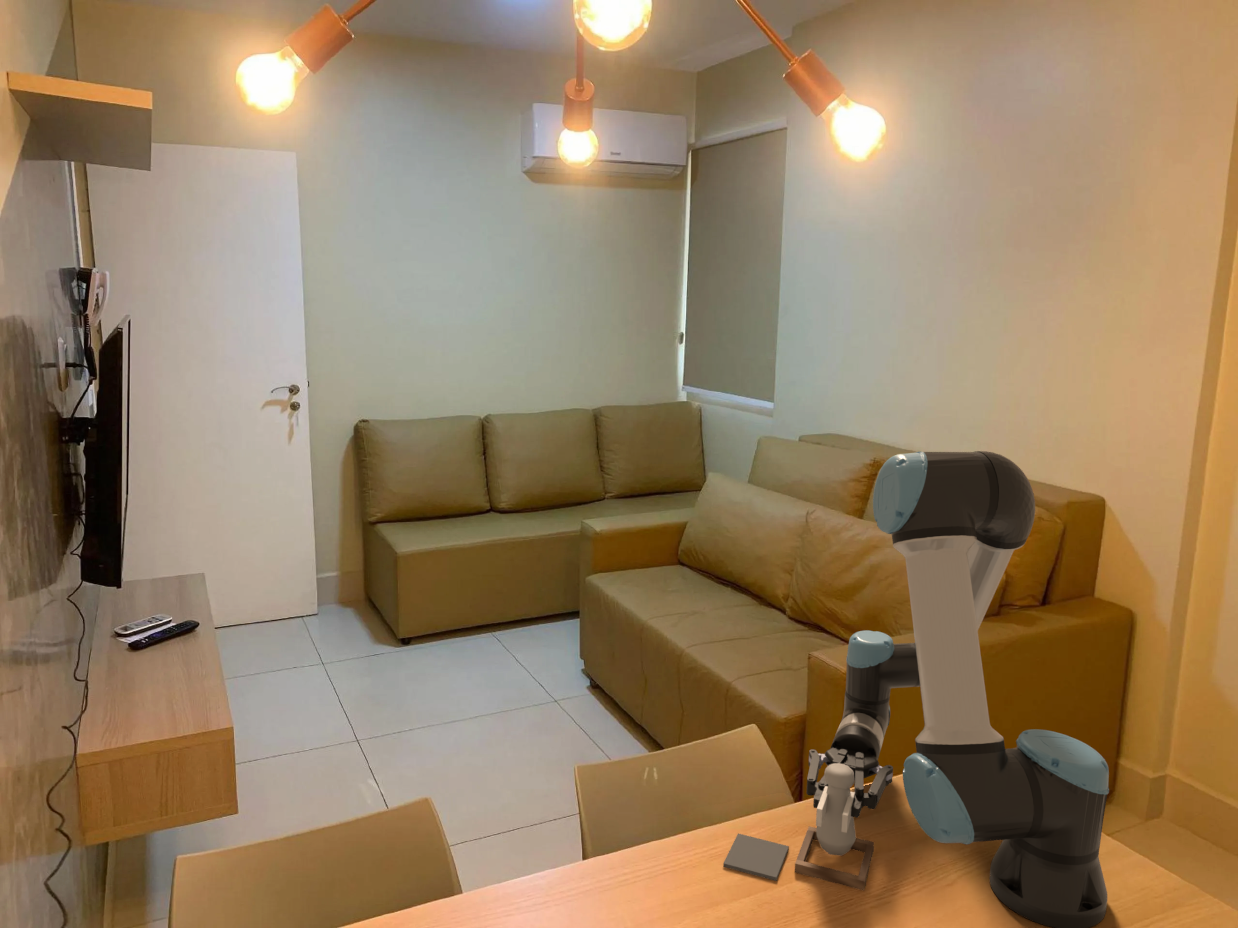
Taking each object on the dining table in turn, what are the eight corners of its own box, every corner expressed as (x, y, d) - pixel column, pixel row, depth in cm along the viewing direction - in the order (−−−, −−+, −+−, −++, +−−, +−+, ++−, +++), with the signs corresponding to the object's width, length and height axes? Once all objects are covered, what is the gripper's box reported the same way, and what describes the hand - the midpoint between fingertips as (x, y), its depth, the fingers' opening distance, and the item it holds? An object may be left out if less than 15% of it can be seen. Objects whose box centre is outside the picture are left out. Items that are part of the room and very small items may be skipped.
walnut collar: (873, 850, 138) (874, 841, 138) (864, 890, 129) (864, 881, 129) (808, 834, 142) (808, 825, 142) (794, 872, 133) (795, 863, 133)
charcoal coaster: (788, 849, 138) (788, 845, 138) (776, 880, 131) (776, 877, 131) (737, 836, 141) (738, 833, 141) (723, 866, 134) (723, 862, 134)
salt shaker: (856, 861, 132) (861, 780, 130) (816, 857, 133) (820, 776, 131) (853, 837, 138) (858, 759, 135) (814, 833, 139) (819, 756, 136)
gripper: (905, 776, 148) (887, 857, 127) (807, 756, 154) (775, 830, 133) (908, 733, 146) (891, 809, 125) (809, 715, 152) (777, 784, 131)
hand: (831, 820), depth 129 cm, fingers closed on salt shaker, 3 cm apart
